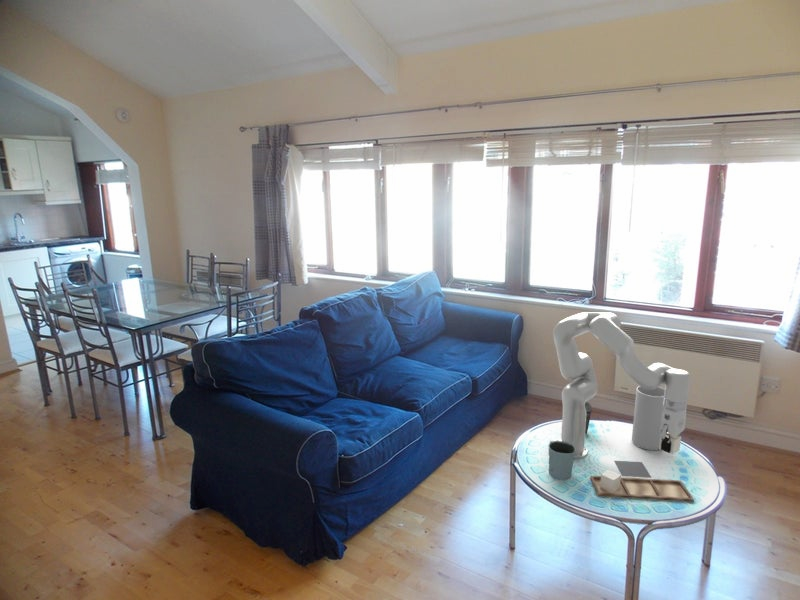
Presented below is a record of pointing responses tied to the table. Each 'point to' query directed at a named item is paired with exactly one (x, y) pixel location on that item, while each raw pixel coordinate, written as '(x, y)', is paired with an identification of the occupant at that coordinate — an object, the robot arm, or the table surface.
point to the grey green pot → (561, 459)
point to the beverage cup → (587, 414)
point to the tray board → (646, 489)
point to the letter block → (673, 444)
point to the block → (610, 481)
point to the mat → (632, 469)
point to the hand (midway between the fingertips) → (669, 448)
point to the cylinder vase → (648, 417)
